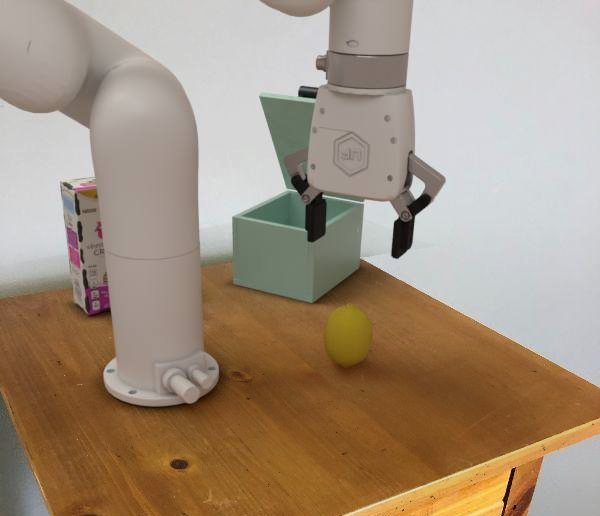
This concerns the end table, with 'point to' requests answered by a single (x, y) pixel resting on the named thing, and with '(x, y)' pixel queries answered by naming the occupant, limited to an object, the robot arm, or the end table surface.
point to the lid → (291, 126)
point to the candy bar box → (85, 245)
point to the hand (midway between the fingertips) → (357, 246)
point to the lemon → (348, 335)
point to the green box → (295, 247)
